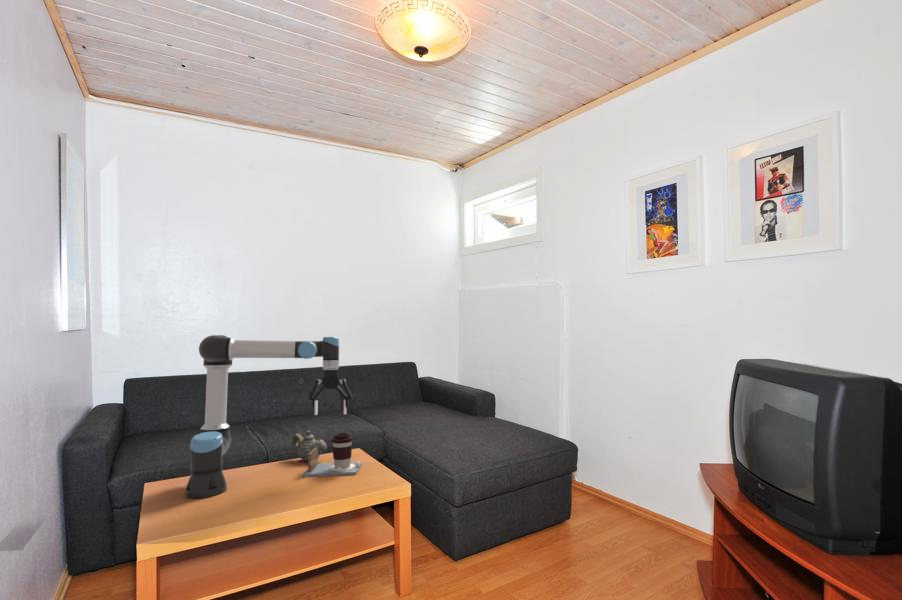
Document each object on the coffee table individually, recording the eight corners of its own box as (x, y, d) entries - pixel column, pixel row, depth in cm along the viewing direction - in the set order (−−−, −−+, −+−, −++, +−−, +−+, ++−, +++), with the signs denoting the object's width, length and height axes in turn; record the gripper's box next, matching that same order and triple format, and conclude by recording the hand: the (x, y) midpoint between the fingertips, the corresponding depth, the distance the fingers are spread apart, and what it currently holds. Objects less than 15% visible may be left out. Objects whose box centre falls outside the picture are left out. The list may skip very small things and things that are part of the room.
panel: (304, 471, 210) (304, 454, 211) (311, 464, 222) (311, 447, 223) (311, 471, 210) (310, 453, 211) (317, 464, 222) (317, 447, 223)
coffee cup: (327, 469, 214) (326, 436, 215) (340, 463, 223) (339, 431, 224) (344, 470, 210) (344, 437, 211) (357, 464, 219) (356, 432, 220)
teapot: (332, 459, 237) (332, 429, 238) (318, 465, 226) (318, 433, 227) (299, 456, 245) (299, 427, 246) (284, 461, 234) (284, 431, 236)
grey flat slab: (302, 477, 207) (302, 469, 208) (312, 466, 224) (312, 459, 225) (356, 474, 208) (356, 467, 209) (362, 464, 225) (362, 457, 226)
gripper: (302, 370, 216) (301, 416, 214) (355, 369, 217) (355, 415, 215) (306, 369, 223) (306, 413, 222) (358, 368, 224) (358, 412, 222)
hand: (330, 414), depth 218 cm, fingers open, 13 cm apart
